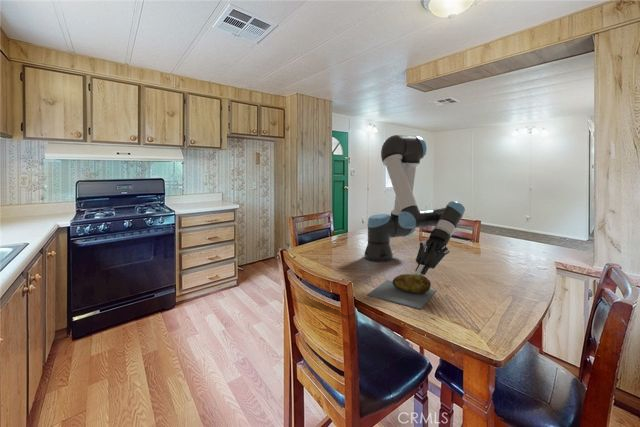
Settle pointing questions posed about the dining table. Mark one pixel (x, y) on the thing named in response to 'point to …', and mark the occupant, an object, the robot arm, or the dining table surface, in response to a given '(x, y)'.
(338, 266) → the dining table surface
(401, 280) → the potato
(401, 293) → the mat
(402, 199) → the robot arm
